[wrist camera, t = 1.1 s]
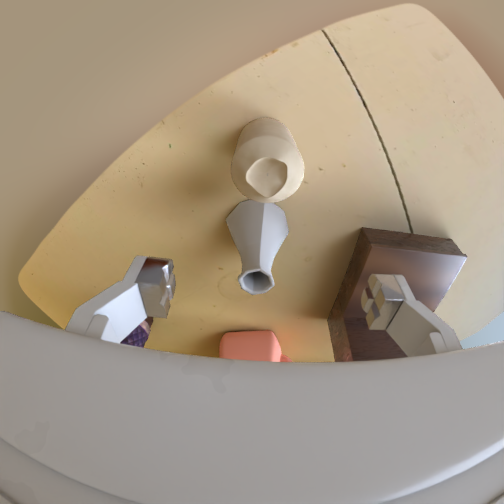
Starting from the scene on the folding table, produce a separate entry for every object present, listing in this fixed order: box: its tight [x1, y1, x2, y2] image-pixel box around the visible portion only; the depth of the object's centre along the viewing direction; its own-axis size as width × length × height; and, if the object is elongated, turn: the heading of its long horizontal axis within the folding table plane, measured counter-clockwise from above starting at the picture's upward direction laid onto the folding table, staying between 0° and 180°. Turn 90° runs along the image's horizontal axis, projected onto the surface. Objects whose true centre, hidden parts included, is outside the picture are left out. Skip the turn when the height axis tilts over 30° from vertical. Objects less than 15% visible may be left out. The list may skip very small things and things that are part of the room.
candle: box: [231, 118, 304, 203], centre depth 23 cm, size 6×6×10 cm
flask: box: [226, 200, 289, 295], centre depth 29 cm, size 7×7×10 cm
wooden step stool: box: [328, 227, 467, 362], centre depth 33 cm, size 18×16×12 cm
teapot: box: [219, 331, 292, 362], centre depth 44 cm, size 12×18×10 cm, turn 98°
